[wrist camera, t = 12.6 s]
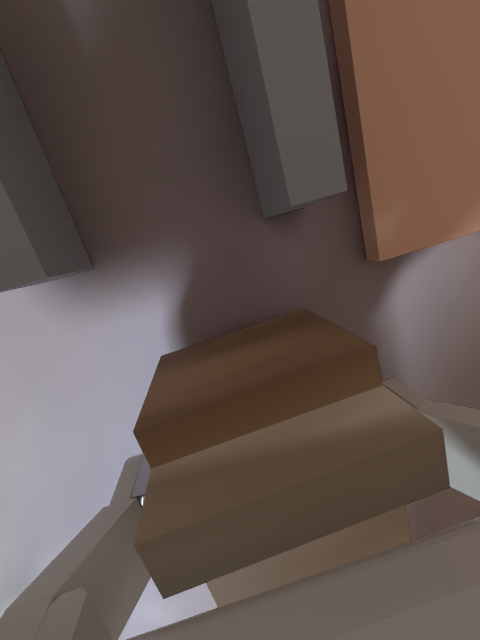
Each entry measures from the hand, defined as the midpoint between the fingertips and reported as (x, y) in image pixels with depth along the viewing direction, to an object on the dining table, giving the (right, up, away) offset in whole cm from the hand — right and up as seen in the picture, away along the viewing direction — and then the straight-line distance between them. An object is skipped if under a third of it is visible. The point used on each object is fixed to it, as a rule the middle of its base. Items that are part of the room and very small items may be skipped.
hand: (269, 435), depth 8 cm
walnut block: (0, -2, +2) cm, 3 cm away
